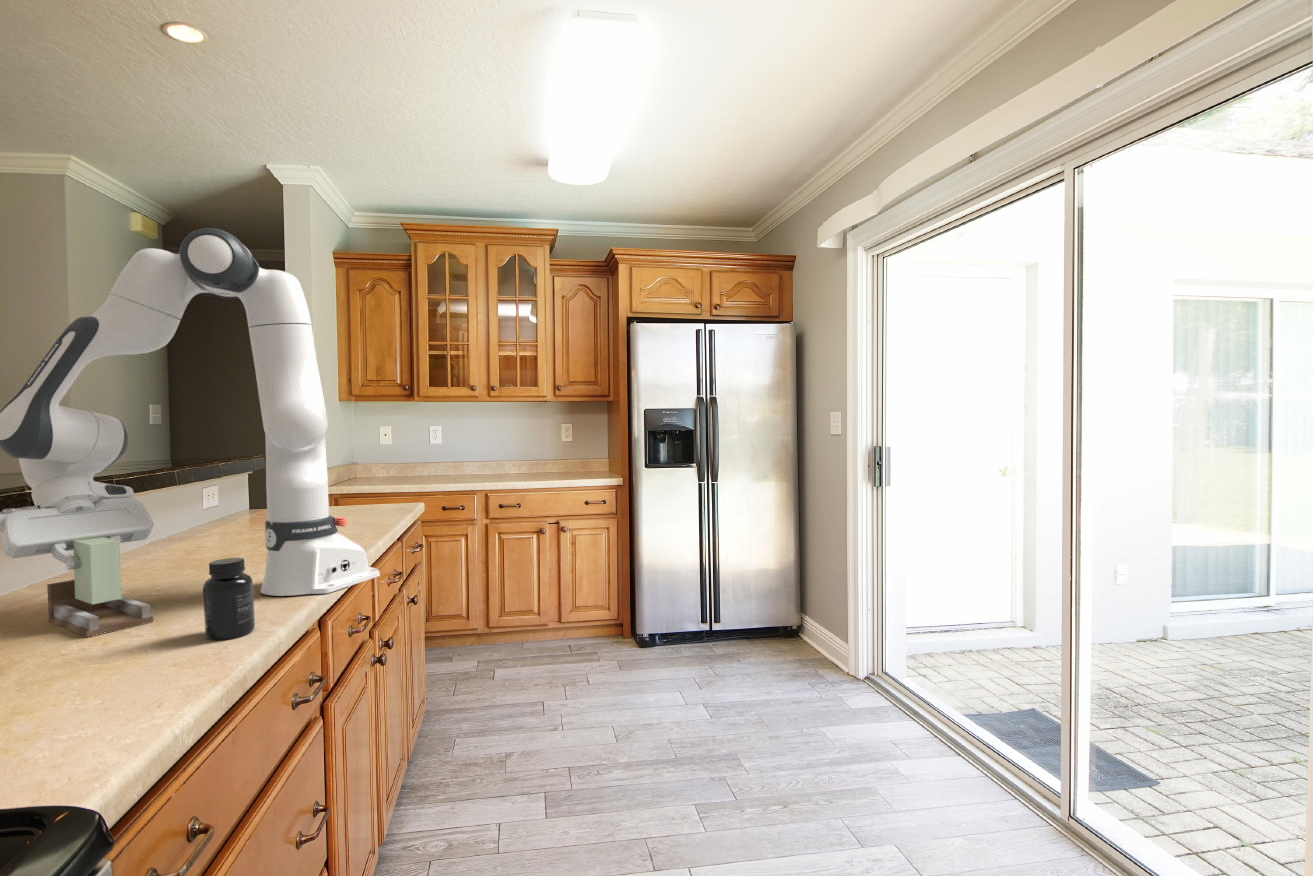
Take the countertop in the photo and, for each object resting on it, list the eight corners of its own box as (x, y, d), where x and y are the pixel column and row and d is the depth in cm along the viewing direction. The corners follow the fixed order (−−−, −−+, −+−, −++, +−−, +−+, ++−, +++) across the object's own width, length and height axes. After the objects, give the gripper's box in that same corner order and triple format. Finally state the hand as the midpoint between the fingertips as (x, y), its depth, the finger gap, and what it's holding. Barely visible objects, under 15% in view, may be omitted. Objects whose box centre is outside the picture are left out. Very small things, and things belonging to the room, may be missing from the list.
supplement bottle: (249, 623, 112) (246, 553, 111) (259, 633, 107) (257, 560, 106) (200, 633, 107) (197, 560, 107) (209, 644, 102) (206, 567, 102)
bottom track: (49, 621, 114) (47, 584, 113) (112, 607, 121) (111, 572, 121) (87, 637, 106) (85, 597, 105) (153, 621, 113) (151, 584, 113)
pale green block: (75, 598, 113) (73, 540, 113) (103, 592, 117) (101, 536, 116) (92, 604, 110) (90, 544, 109) (121, 598, 113) (119, 540, 113)
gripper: (-7, 498, 108) (18, 565, 103) (141, 486, 125) (167, 542, 121) (-15, 523, 110) (9, 589, 106) (131, 507, 128) (157, 563, 123)
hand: (95, 564), depth 113 cm, fingers closed on pale green block, 4 cm apart
